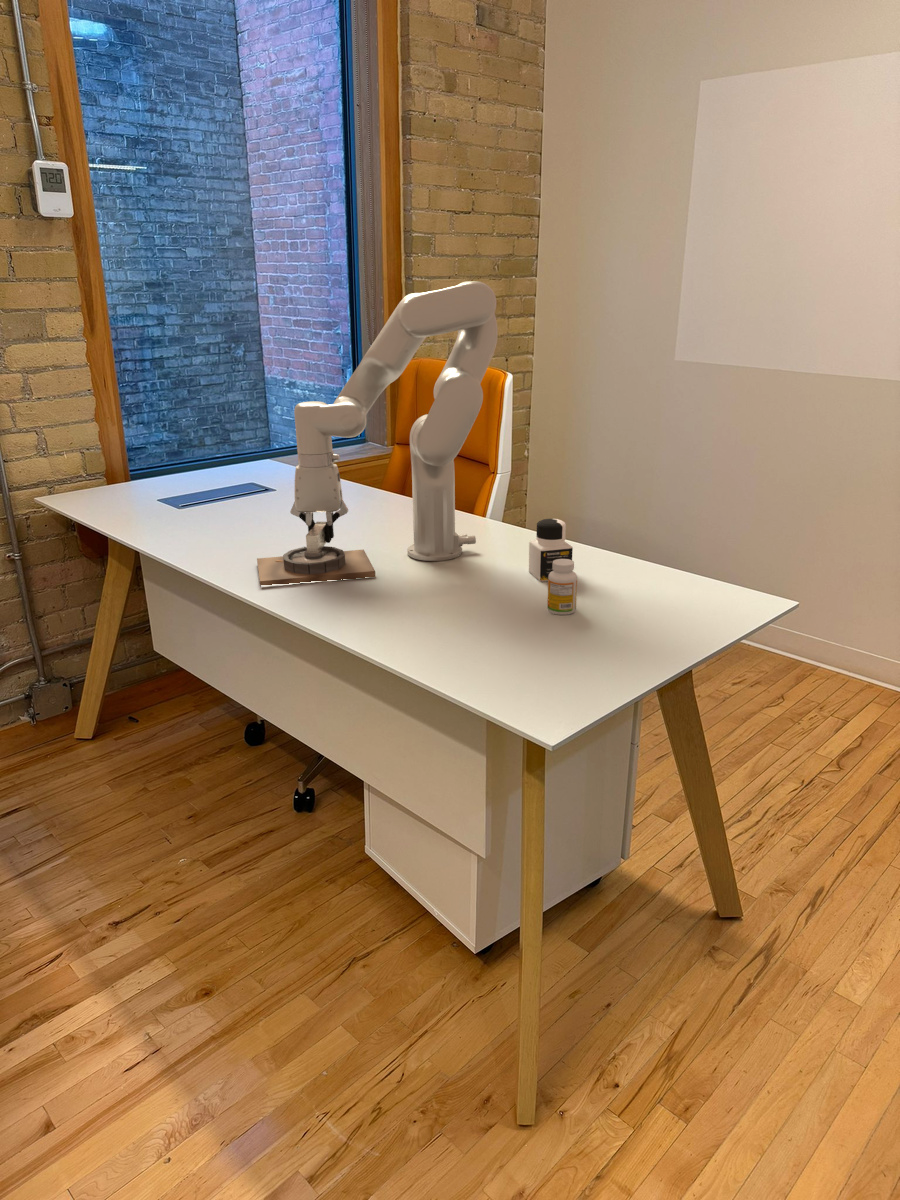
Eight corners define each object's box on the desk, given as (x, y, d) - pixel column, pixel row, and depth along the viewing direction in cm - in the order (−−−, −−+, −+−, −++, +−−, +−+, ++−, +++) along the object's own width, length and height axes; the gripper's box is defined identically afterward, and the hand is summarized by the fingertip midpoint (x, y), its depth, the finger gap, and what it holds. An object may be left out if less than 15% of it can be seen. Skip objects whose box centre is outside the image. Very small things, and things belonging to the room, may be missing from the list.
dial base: (363, 555, 198) (363, 540, 196) (375, 577, 183) (374, 560, 182) (257, 564, 192) (256, 548, 191) (260, 588, 178) (258, 571, 176)
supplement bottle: (557, 603, 167) (558, 555, 164) (581, 609, 164) (583, 560, 160) (541, 611, 163) (543, 562, 160) (566, 617, 160) (567, 568, 157)
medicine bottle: (540, 582, 179) (541, 526, 175) (528, 571, 185) (529, 517, 181) (571, 579, 181) (574, 523, 176) (559, 568, 187) (560, 515, 183)
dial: (332, 571, 182) (330, 540, 180) (286, 570, 183) (283, 540, 180) (345, 550, 196) (344, 521, 194) (302, 549, 197) (300, 521, 194)
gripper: (355, 456, 190) (359, 536, 197) (282, 457, 191) (289, 537, 197) (350, 463, 183) (355, 545, 190) (274, 464, 184) (282, 546, 190)
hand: (321, 540), depth 193 cm, fingers closed on dial, 2 cm apart
